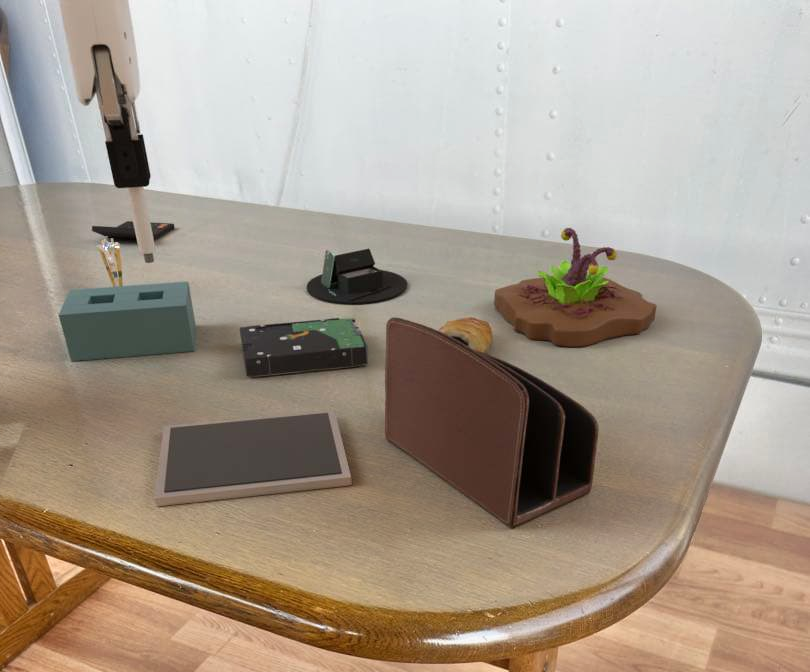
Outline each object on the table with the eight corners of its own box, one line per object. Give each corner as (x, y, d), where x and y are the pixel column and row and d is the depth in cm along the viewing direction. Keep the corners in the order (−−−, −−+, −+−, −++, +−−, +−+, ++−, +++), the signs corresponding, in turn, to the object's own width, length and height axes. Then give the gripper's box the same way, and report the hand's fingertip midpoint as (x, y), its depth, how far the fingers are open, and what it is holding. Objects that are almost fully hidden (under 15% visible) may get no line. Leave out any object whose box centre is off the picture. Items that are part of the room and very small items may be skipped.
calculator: (174, 228, 148) (171, 211, 146) (144, 247, 139) (140, 229, 137) (128, 225, 150) (124, 208, 148) (95, 244, 141) (90, 226, 139)
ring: (133, 301, 118) (121, 244, 113) (110, 304, 117) (97, 247, 112) (126, 286, 123) (114, 232, 118) (104, 289, 122) (91, 234, 117)
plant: (588, 283, 121) (597, 204, 115) (676, 327, 107) (692, 240, 100) (471, 304, 115) (474, 222, 108) (548, 355, 100) (557, 263, 94)
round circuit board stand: (373, 264, 130) (372, 229, 126) (426, 290, 120) (426, 252, 116) (289, 282, 123) (285, 245, 120) (338, 312, 113) (335, 272, 110)
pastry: (453, 330, 107) (454, 302, 105) (503, 337, 105) (505, 308, 103) (429, 357, 100) (429, 328, 98) (481, 366, 98) (483, 335, 96)
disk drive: (247, 381, 96) (370, 366, 98) (243, 359, 94) (369, 344, 96) (241, 347, 104) (355, 334, 106) (237, 326, 102) (353, 313, 105)
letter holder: (510, 531, 70) (522, 381, 62) (383, 440, 83) (379, 307, 75) (592, 493, 75) (614, 350, 67) (459, 413, 88) (463, 285, 80)
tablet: (156, 507, 74) (154, 496, 73) (165, 434, 85) (163, 424, 85) (352, 485, 77) (351, 475, 76) (335, 417, 88) (334, 408, 87)
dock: (194, 351, 103) (186, 305, 99) (71, 361, 100) (58, 314, 97) (195, 325, 110) (188, 281, 106) (80, 334, 108) (69, 289, 104)
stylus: (141, 264, 81) (111, 120, 73) (141, 260, 82) (112, 117, 75) (157, 263, 81) (129, 119, 74) (158, 258, 83) (130, 116, 75)
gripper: (51, -54, 72) (100, 168, 83) (21, -55, 60) (83, 207, 71) (137, -55, 73) (175, 164, 84) (126, -56, 61) (171, 201, 72)
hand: (133, 182), depth 77 cm, fingers closed on stylus, 1 cm apart
